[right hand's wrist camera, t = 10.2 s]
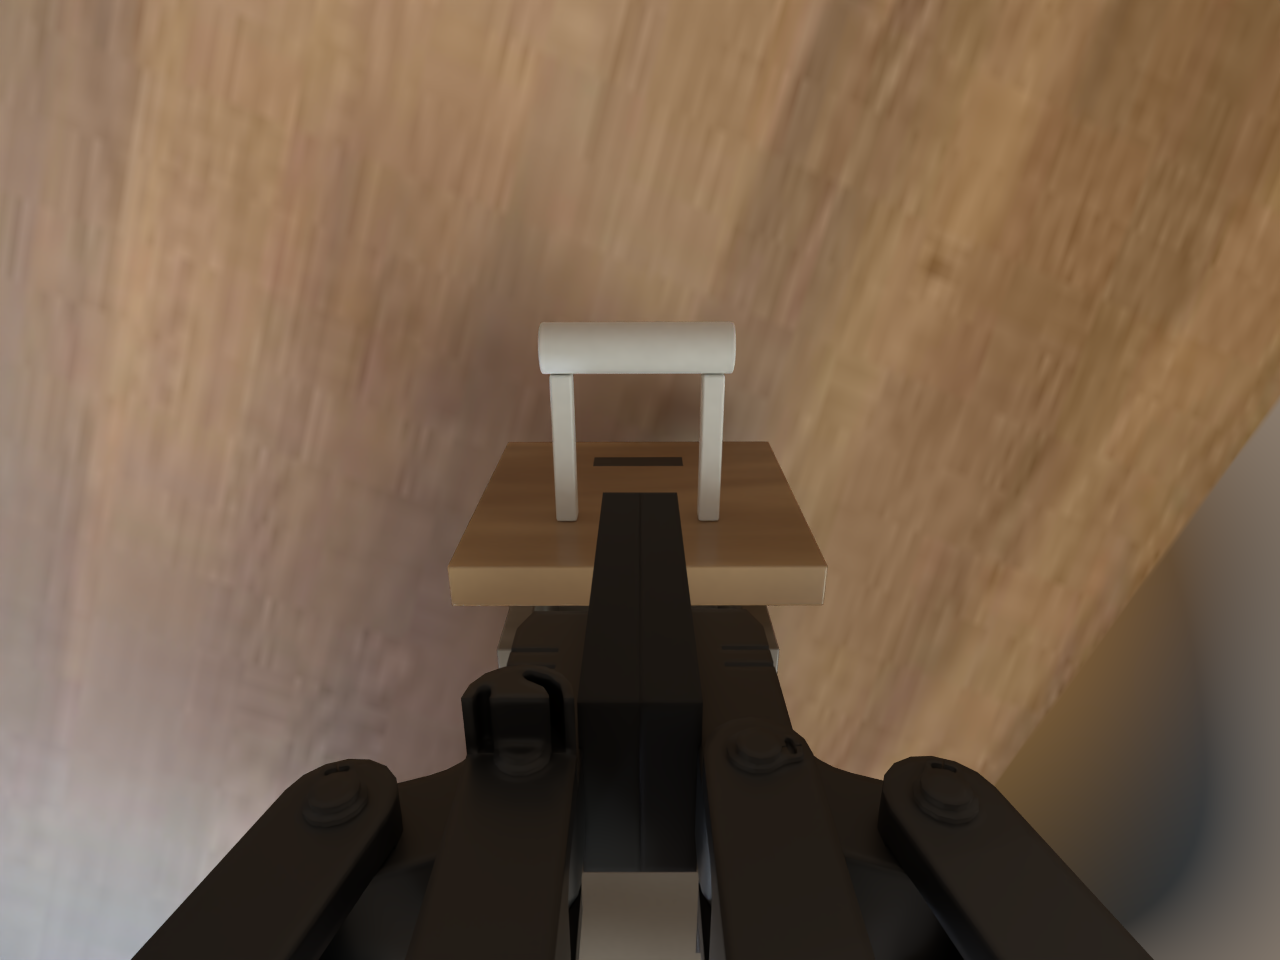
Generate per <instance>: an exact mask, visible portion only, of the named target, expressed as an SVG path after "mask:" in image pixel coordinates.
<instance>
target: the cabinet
mask: <svg viewBox="0 0 1280 960" xmlns="http://www.w3.org/2000/svg"><path fill="white" fill-rule="evenodd" d="M698 881H699V878H698V866H697V872H583V870H582V907H583V913H582V926H581V939H580V952H579V960H701V953H696V932H697V907H698Z"/></svg>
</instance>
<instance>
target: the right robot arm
mask: <svg viewBox="0 0 1280 960" xmlns="http://www.w3.org/2000/svg"><path fill="white" fill-rule="evenodd" d="M461 702H462V711H463V720H464V729H465V739H466V748H467V756H466V759H465V760H464V761H462V762H461V763H459V764H457V765H455V766H453V767H451V768H449V769H447V770H445V771H442V772H439V773H436V774H433V775H430V776H426V777H422V778H417V779H413V780H409V781H405V782H401V783H397V780H396V777H395V776H394V775H393V774H392V772H391V771H390V770H389V769H388V768H387V766H385V765H382V764H380V763H377V762H374V761H372V760H365V759H346V760H342V761H338V762H334V763H329V764H325V765H323V766H321V767H319V768H317V769H315V770H313V771H311V772H309V773H307V774H305V775H303V776H302V777H301V778H299V779H298V780H297V781H296V782H295V783H293V784H292V785H291V786H290V787H289V788H287V789H286V790H285V791H284V792H283V793H282V794H281V795H280V797H279V798H278V799H277V800H276V801H275V802H274V803H273V804H272V805H271V806H270V808H269V809H268V810H267V811H266V812H265V813H264V814H263V815H262V816H261V817H260V818H259V820H258V821H257V822H256V823H255V824H254V825H253V826H252V827H251V828H250V829H249V831H248V832H247V833H246V834H245V835H244V836H243V837H242V838H241V839H240V840H239V842H238V843H237V844H236V845H235V846H234V847H233V848H232V849H231V850H230V851H229V852H228V854H227V855H226V856H225V857H224V858H223V859H222V860H221V861H220V862H219V863H218V865H217V866H216V867H215V868H214V869H213V870H212V871H211V872H210V873H209V874H208V876H207V877H206V878H205V879H204V880H203V881H202V882H201V883H200V884H199V885H198V887H197V888H196V889H195V890H194V891H193V892H192V893H191V894H190V895H189V896H188V897H187V899H186V900H185V901H184V902H183V903H182V904H181V905H180V906H179V907H178V908H177V910H176V911H175V912H174V913H173V914H172V915H171V916H170V917H169V918H168V919H167V921H166V922H165V923H164V924H163V925H162V926H161V927H160V928H159V929H158V930H157V931H156V933H155V934H154V935H153V936H152V937H151V938H150V939H149V940H148V941H147V942H146V944H145V945H144V946H143V947H142V948H141V949H140V950H139V951H138V952H137V953H136V955H135V956H134V957H133V958H132V959H131V960H579V952H580V939H581V926H582V913H583V907H582V870H583V872H697V866H698V878H699V881H698V907H697V932H696V953H701V960H1153V958H1152V957H1151V956H1150V955H1149V954H1148V953H1147V952H1146V951H1145V950H1144V949H1143V948H1142V947H1141V945H1140V944H1139V943H1138V942H1137V941H1136V940H1135V939H1134V938H1133V937H1132V936H1131V934H1130V933H1129V932H1128V931H1127V930H1126V929H1125V928H1124V927H1123V926H1122V925H1121V924H1120V922H1119V921H1118V920H1117V919H1116V918H1115V917H1114V916H1113V915H1112V914H1111V913H1110V912H1109V911H1108V909H1107V908H1106V907H1105V906H1104V905H1103V904H1102V903H1101V902H1100V901H1099V900H1098V898H1097V897H1096V896H1095V895H1094V894H1093V893H1092V892H1091V891H1090V890H1089V889H1088V888H1087V887H1086V886H1085V884H1084V883H1083V882H1082V881H1081V880H1080V879H1079V878H1078V877H1077V876H1076V875H1075V873H1074V872H1073V871H1072V870H1071V869H1070V868H1069V867H1068V866H1067V865H1066V864H1065V863H1064V861H1063V860H1062V859H1061V858H1060V857H1059V856H1058V855H1057V854H1056V853H1055V852H1054V851H1053V849H1052V848H1051V847H1050V846H1049V845H1048V844H1047V843H1046V842H1045V841H1044V840H1043V839H1042V837H1041V836H1040V835H1039V834H1038V833H1037V832H1036V831H1035V830H1034V829H1033V828H1032V827H1031V826H1030V824H1029V823H1028V822H1027V821H1026V820H1025V819H1024V818H1023V817H1022V816H1021V815H1020V814H1019V812H1018V811H1017V810H1016V809H1015V808H1014V807H1013V806H1012V805H1011V804H1010V803H1009V801H1008V800H1007V799H1006V798H1005V797H1004V796H1003V795H1002V794H1001V793H1000V792H999V791H998V790H997V788H996V787H995V786H993V785H992V784H991V783H990V782H988V781H987V780H986V779H985V778H984V777H982V776H981V775H980V774H979V773H978V772H976V771H974V770H972V769H970V768H968V767H965V766H963V765H961V764H959V763H957V762H955V761H951V760H947V759H942V758H938V757H934V756H918V757H909V758H906V759H904V760H901V761H899V762H896V763H894V764H893V765H892V766H891V768H890V769H889V770H888V771H887V772H886V774H885V775H884V780H883V781H882V780H878V779H874V778H870V777H866V776H862V775H858V774H854V773H850V772H847V771H844V770H841V769H838V768H835V767H832V766H830V765H829V764H827V763H825V762H823V761H821V760H819V759H818V758H816V757H815V756H814V755H813V753H812V751H811V749H810V748H809V746H808V744H807V742H806V741H805V739H804V738H803V737H801V736H800V735H799V734H798V733H796V732H795V731H794V730H793V729H792V725H791V722H790V718H789V715H788V711H787V708H786V704H785V701H784V697H783V694H782V690H781V687H780V683H779V680H778V676H777V673H776V669H775V667H774V662H773V658H772V655H771V651H770V650H769V644H768V641H767V637H766V634H765V630H764V627H763V625H762V624H761V623H760V622H759V621H758V620H757V619H756V618H755V617H754V616H753V615H752V614H751V613H750V612H749V611H748V610H747V609H691V601H690V593H689V585H688V577H687V569H686V561H685V552H684V544H683V536H682V528H681V520H680V512H679V504H678V496H677V492H603V496H602V504H601V512H600V520H599V528H598V536H597V544H596V552H595V561H594V569H593V577H592V585H591V593H590V601H589V609H588V611H534V612H533V613H532V614H531V615H530V616H529V617H528V618H527V619H526V620H525V621H524V622H523V623H522V624H521V625H520V626H519V627H518V628H517V630H516V633H515V637H514V640H513V644H512V647H511V652H510V654H509V658H508V661H507V666H505V667H502V668H499V669H497V670H494V671H491V672H488V673H486V674H484V675H483V676H481V677H480V678H478V679H477V680H476V681H474V682H473V683H471V684H470V685H469V687H468V688H467V690H466V691H465V693H464V694H463V696H462V697H461Z"/></svg>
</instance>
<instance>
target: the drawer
mask: <svg viewBox="0 0 1280 960" xmlns="http://www.w3.org/2000/svg"><path fill="white" fill-rule="evenodd" d="M538 356H539V365H540V370H541V372H542V373H543V374H551V375H550V377H549V383H550V403H551V422H552V442H509V443H508V444H507V446H506V448H505V450H504V452H503V454H502V456H501V459H500V461H499V463H498V465H497V467H496V469H495V471H494V473H493V475H492V477H491V479H490V481H489V483H488V485H487V487H486V489H485V491H484V493H483V495H482V497H481V499H480V502H479V504H478V506H477V508H476V510H475V512H474V514H473V516H472V518H471V520H470V522H469V524H468V526H467V528H466V530H465V532H464V534H463V536H462V538H461V540H460V542H459V545H458V547H457V549H456V551H455V553H454V555H453V557H452V559H451V561H450V563H449V565H448V567H447V569H448V577H449V586H450V594H451V603H452V606H510V608H509V611H508V615H507V618H506V621H505V625H504V628H503V631H502V635H501V638H500V641H499V645H498V648H497V657H498V668H502V667H505V666H507V661H508V658H509V654H510V652H511V647H512V644H513V640H514V637H515V633H516V630H517V628H518V627H519V626H520V625H521V624H522V623H523V622H524V621H525V620H526V619H527V618H528V617H529V616H530V615H531V614H532V613H533V612H534V611H588V609H589V601H590V593H591V585H592V577H593V569H594V561H595V552H596V544H597V536H598V528H599V520H600V512H601V504H602V496H603V492H677V496H678V504H679V512H680V520H681V528H682V536H683V544H684V552H685V561H686V569H687V577H688V585H689V593H690V601H691V609H747V610H748V611H749V612H750V613H751V614H752V615H753V616H754V617H755V618H756V619H757V620H758V621H759V622H760V623H761V624H762V625H763V627H764V630H765V634H766V637H767V641H768V644H769V650H770V651H771V655H772V658H773V662H774V667H775V669H776V673H777V670H778V658H779V647H778V643H777V640H776V637H775V633H774V630H773V626H772V623H771V619H770V616H769V613H768V609H767V606H766V605H823V604H824V596H825V587H826V577H827V568H828V566H827V564H826V562H825V560H824V558H823V556H822V554H821V552H820V549H819V547H818V545H817V543H816V541H815V539H814V537H813V535H812V533H811V530H810V528H809V526H808V524H807V522H806V520H805V518H804V516H803V514H802V512H801V509H800V507H799V505H798V503H797V501H796V499H795V497H794V495H793V493H792V491H791V488H790V486H789V484H788V482H787V480H786V478H785V476H784V474H783V472H782V469H781V467H780V465H779V463H778V461H777V459H776V457H775V455H774V453H773V451H772V448H771V446H770V444H769V442H722V438H723V414H724V391H725V376H724V374H723V373H732V372H733V370H734V365H735V356H736V333H735V326H734V323H733V322H542V323H540V326H539V332H538ZM573 374H701V401H700V434H699V442H576V436H575V410H574V384H573Z"/></svg>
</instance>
